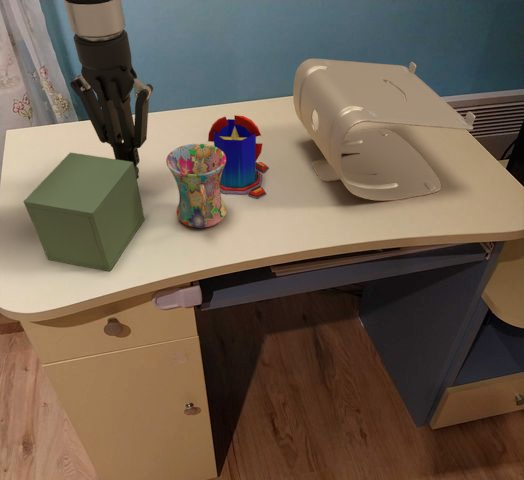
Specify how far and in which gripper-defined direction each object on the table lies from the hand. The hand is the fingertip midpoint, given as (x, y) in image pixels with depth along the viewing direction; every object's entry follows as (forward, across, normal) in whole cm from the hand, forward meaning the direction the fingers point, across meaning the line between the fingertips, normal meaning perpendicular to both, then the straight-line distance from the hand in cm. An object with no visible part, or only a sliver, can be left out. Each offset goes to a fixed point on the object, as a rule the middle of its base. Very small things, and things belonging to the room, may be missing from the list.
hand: (132, 180), depth 88 cm
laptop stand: (+2, -40, -20) cm, 45 cm away
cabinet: (+2, 0, +14) cm, 14 cm away
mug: (+2, -15, +5) cm, 16 cm away
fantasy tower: (+2, -17, -8) cm, 19 cm away
